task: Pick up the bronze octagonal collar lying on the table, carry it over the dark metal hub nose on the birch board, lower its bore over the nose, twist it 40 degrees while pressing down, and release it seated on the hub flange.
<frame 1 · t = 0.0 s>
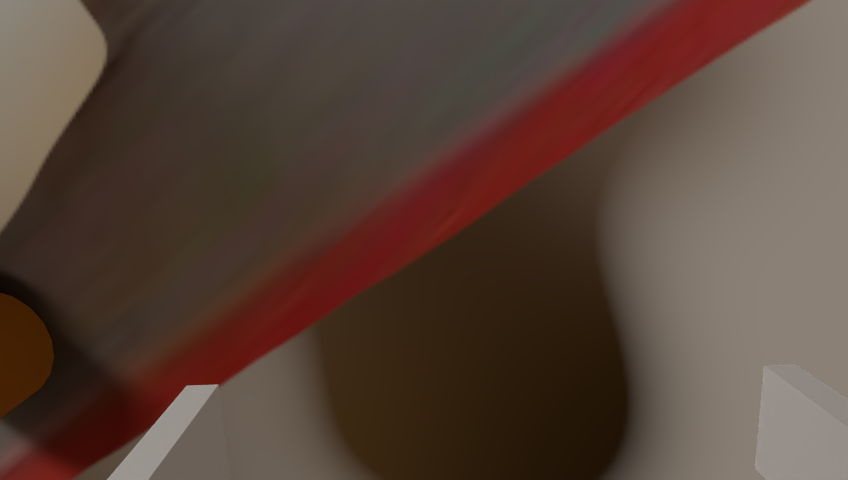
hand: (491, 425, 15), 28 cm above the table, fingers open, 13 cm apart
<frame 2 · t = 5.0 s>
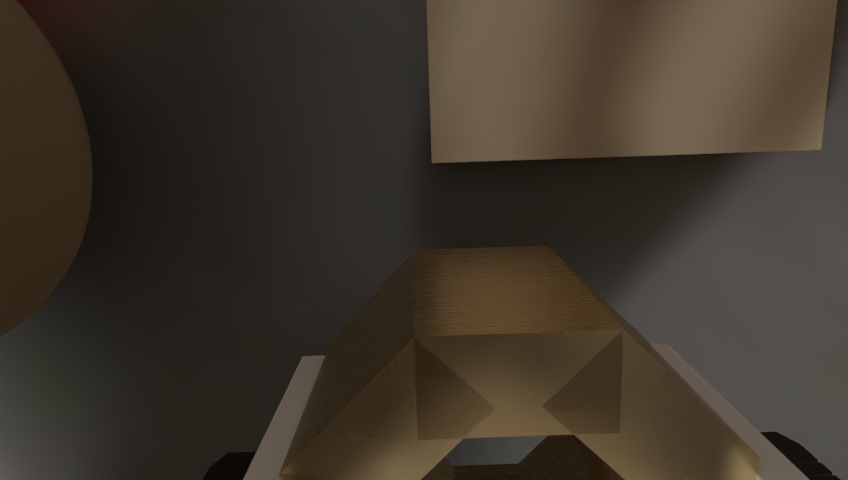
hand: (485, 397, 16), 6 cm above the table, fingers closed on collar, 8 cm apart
collar: (484, 391, 16), point 5 cm above the table, touching gripper
when the fingers open (2 cm above the table, at t = 9.2 s): collar stays where it is, resting on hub.
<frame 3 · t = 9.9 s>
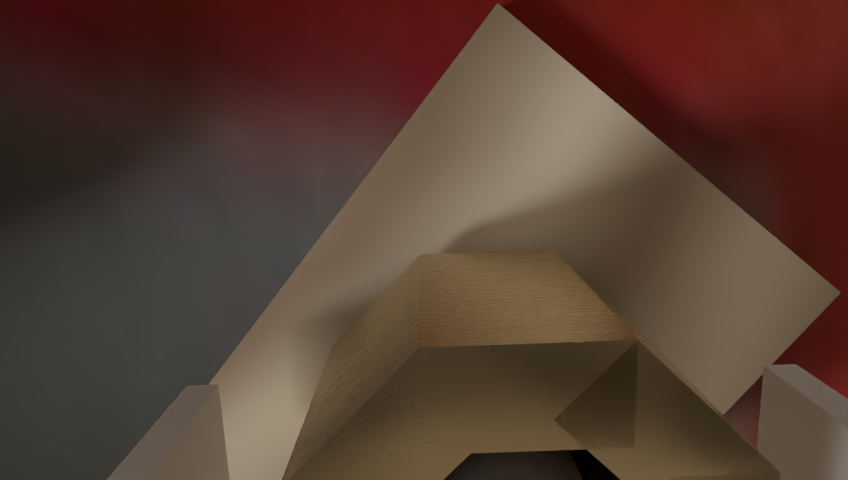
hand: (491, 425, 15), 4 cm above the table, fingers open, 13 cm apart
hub: (477, 365, 18), on the table
collar: (488, 400, 16), point 2 cm above the table, touching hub
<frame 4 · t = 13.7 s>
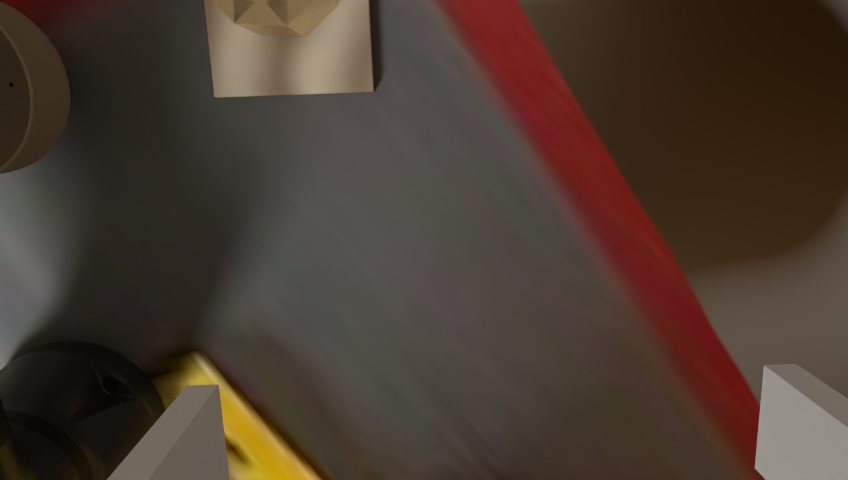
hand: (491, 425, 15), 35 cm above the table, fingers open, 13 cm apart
bowl: (26, 91, 47), on the table
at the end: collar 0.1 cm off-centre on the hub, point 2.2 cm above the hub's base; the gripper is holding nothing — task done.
